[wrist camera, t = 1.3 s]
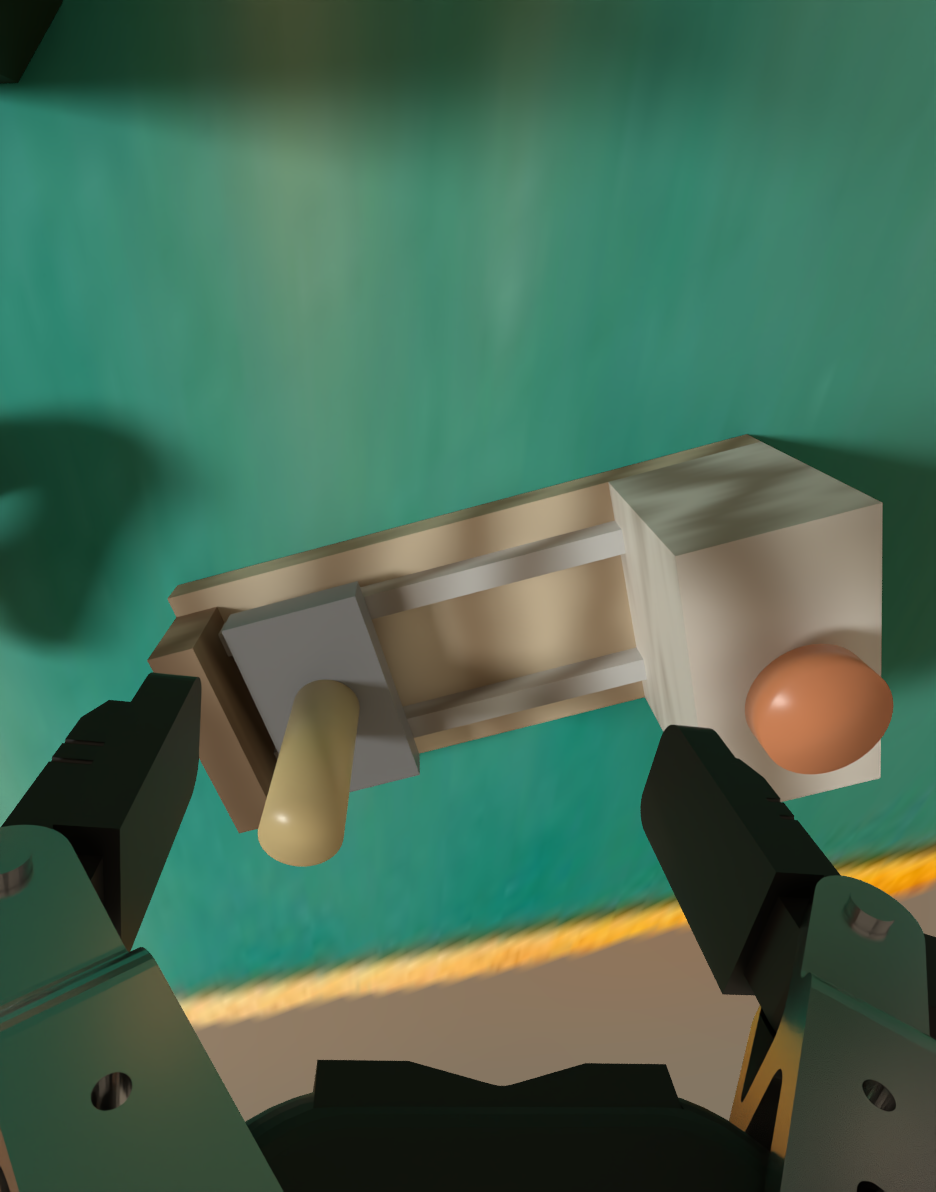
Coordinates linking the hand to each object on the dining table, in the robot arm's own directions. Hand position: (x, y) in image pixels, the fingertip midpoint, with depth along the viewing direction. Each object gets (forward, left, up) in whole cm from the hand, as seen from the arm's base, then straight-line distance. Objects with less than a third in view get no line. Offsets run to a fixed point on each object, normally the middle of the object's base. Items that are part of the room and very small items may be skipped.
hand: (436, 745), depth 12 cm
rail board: (-1, +9, -22) cm, 24 cm away
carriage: (+7, +9, -19) cm, 22 cm away
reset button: (-11, +9, -10) cm, 18 cm away
